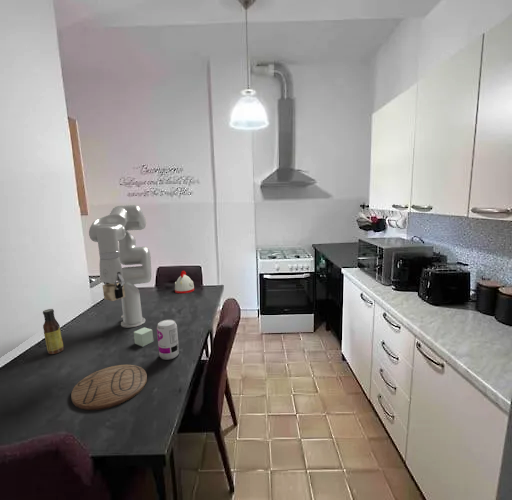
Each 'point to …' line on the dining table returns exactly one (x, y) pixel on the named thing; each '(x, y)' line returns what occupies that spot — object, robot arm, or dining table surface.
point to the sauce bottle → (52, 332)
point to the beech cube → (111, 292)
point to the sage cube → (143, 336)
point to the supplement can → (167, 339)
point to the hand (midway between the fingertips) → (114, 296)
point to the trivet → (109, 387)
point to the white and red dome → (184, 284)
